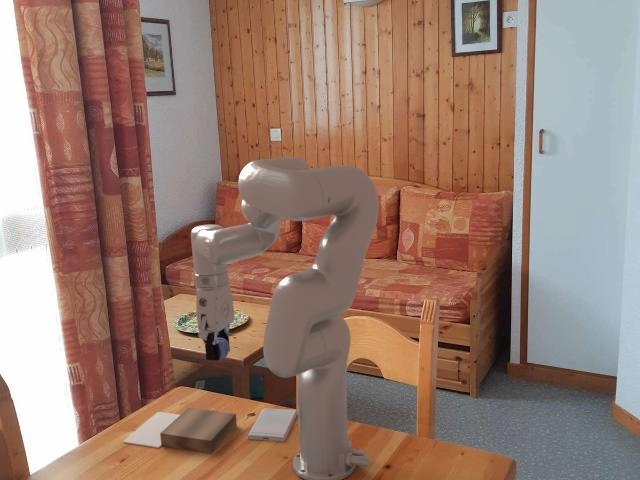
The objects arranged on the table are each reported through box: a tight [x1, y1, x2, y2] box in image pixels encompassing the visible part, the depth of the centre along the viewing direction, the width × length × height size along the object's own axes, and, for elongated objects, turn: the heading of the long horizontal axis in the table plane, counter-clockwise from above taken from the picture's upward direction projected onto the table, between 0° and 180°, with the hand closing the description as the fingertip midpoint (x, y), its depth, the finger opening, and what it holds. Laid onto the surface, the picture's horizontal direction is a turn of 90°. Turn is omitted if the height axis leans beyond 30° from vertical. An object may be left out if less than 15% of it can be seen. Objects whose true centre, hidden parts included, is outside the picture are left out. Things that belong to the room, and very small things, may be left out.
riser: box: [160, 407, 238, 455], centre depth 140 cm, size 12×12×3 cm
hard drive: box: [247, 407, 298, 443], centre depth 144 cm, size 2×8×12 cm
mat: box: [122, 411, 181, 449], centre depth 144 cm, size 9×14×1 cm, turn 162°
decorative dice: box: [217, 338, 230, 361], centre depth 148 cm, size 4×4×4 cm
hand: (218, 354), depth 149 cm, fingers closed on decorative dice, 4 cm apart
